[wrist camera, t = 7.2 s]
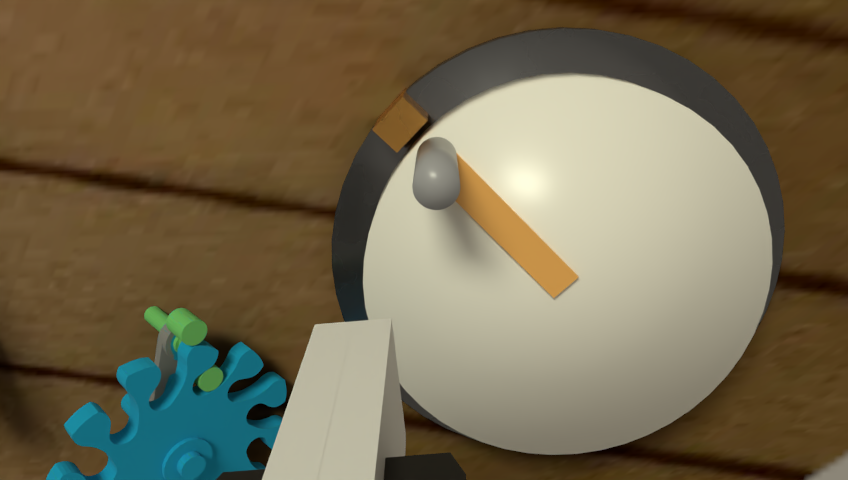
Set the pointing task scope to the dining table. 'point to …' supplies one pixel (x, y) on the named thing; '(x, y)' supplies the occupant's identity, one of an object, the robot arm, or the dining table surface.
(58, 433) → the dining table surface
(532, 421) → the dial
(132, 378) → the gear
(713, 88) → the dial base
